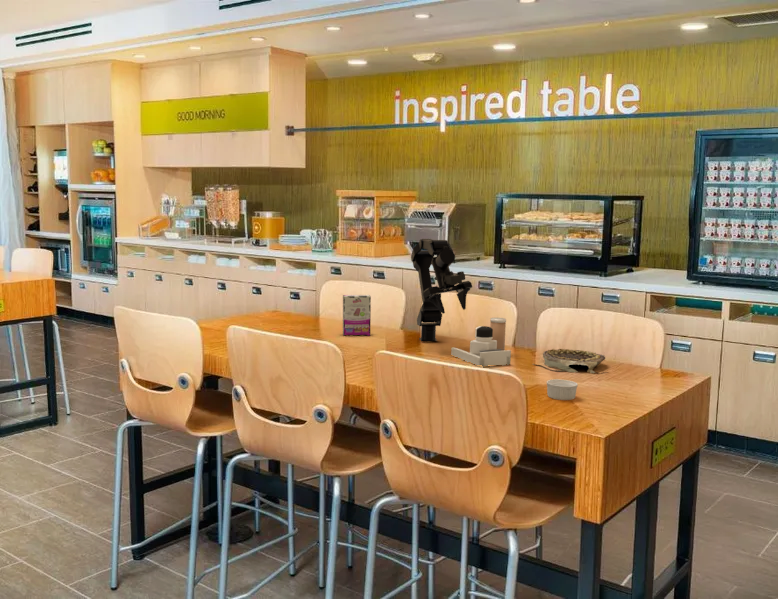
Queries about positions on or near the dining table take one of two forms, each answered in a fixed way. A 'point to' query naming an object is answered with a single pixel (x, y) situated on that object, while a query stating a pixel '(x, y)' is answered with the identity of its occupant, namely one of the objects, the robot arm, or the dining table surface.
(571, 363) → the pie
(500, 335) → the spice jar
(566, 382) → the ramekin
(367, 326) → the candy bar box
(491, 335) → the medicine bottle
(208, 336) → the dining table surface
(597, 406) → the dining table surface
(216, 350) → the dining table surface
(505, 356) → the lane
